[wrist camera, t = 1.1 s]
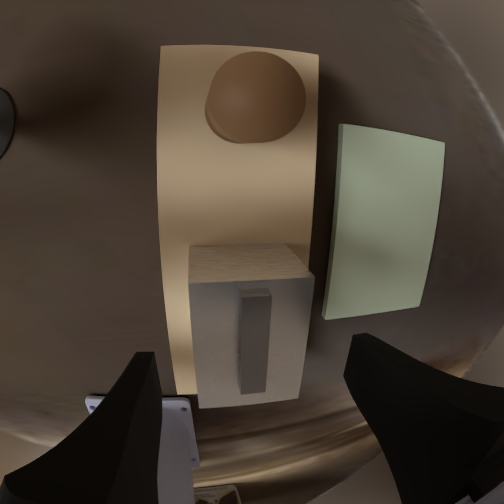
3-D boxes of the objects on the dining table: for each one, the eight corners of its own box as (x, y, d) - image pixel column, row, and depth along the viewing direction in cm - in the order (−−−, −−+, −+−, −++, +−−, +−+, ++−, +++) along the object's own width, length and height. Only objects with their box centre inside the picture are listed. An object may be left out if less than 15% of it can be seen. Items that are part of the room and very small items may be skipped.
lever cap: (276, 348, 17) (301, 407, 12) (195, 354, 16) (200, 418, 12) (284, 242, 15) (321, 283, 10) (188, 245, 14) (188, 291, 10)
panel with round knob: (281, 355, 21) (315, 432, 14) (177, 363, 19) (178, 447, 13) (298, 68, 15) (360, 30, 8) (166, 62, 14) (150, 10, 7)
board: (414, 302, 22) (419, 306, 21) (321, 315, 20) (324, 319, 20) (439, 142, 18) (444, 142, 17) (338, 124, 16) (343, 123, 16)
